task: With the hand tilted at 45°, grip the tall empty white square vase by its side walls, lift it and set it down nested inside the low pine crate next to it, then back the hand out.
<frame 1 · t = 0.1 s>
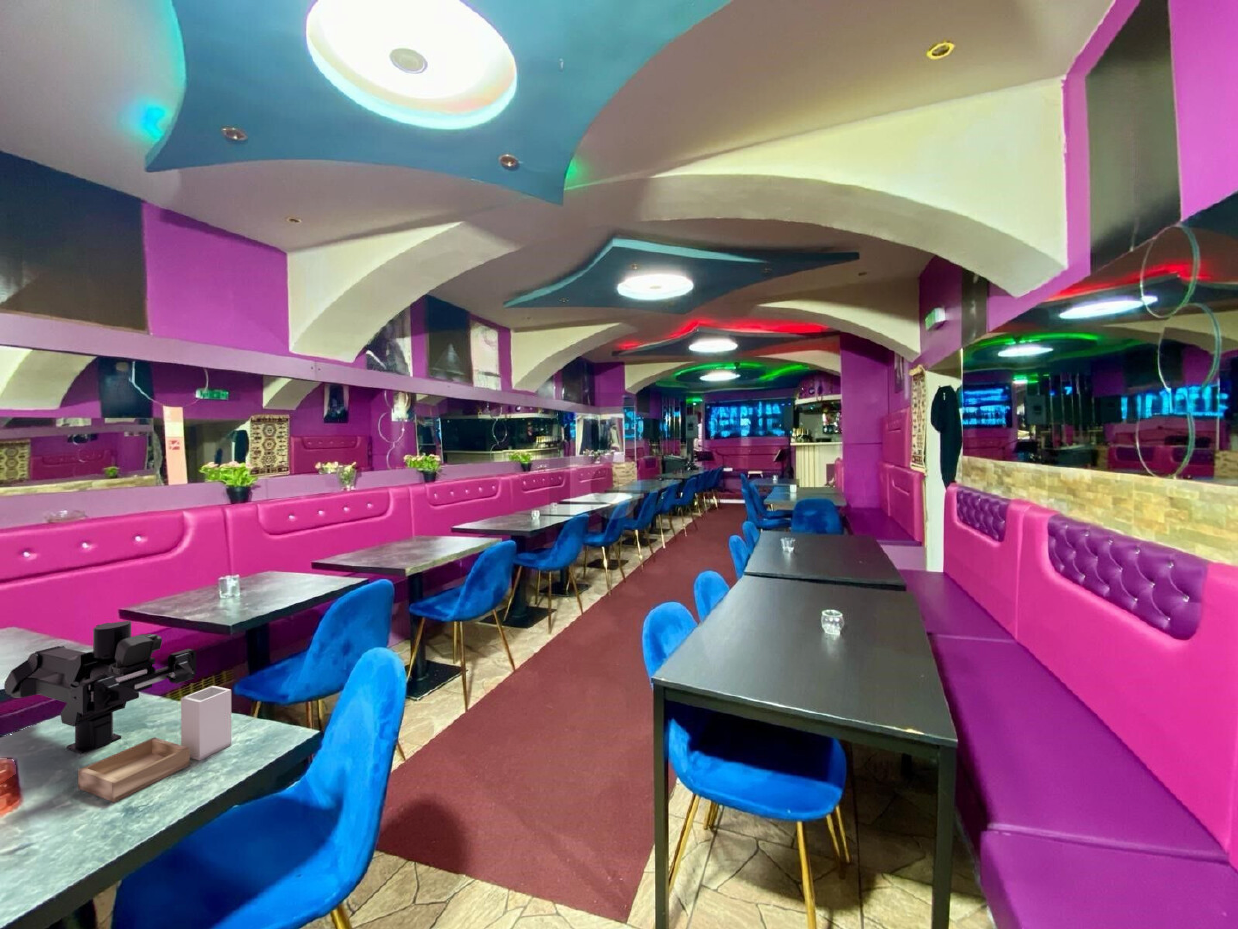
hand: (166, 685, 99), 16 cm above the table, tool horizontal, fingers open, 9 cm apart
white square vase: (206, 749, 104), on the table
pine crate: (135, 776, 95), on the table
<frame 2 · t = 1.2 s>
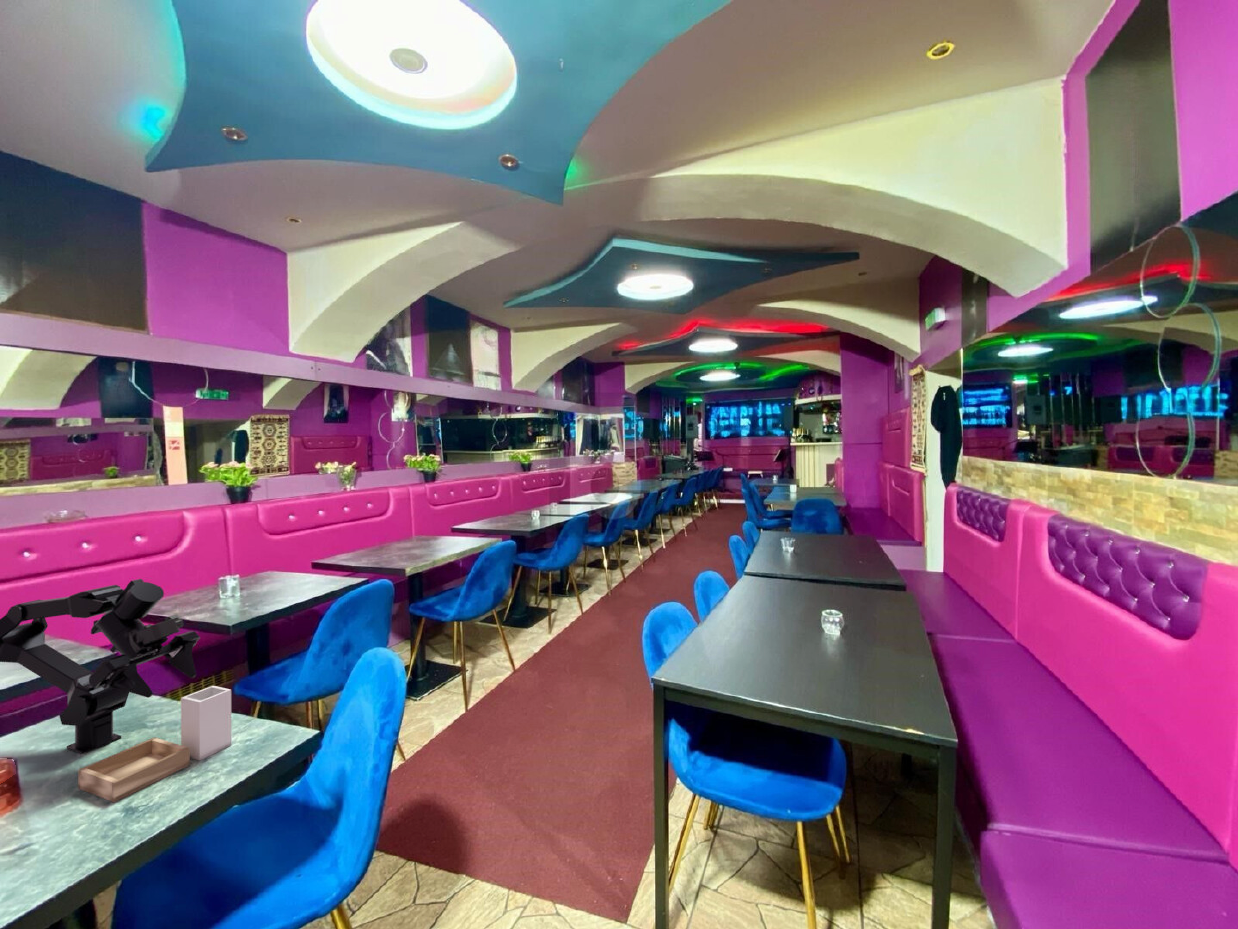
hand: (173, 685, 105), 13 cm above the table, tool tilted 45°, fingers open, 9 cm apart
nothing on the table moved.
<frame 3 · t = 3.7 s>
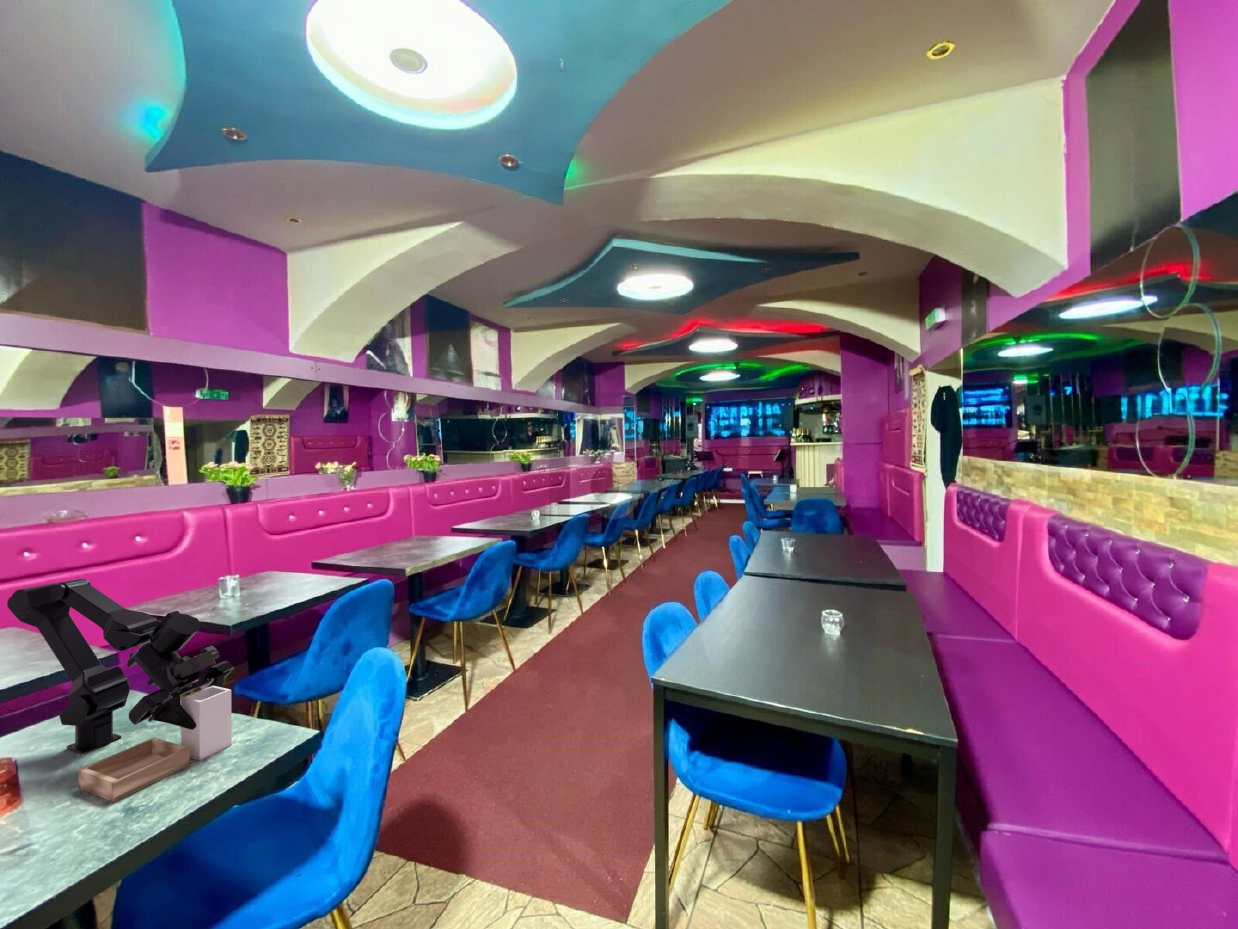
hand: (210, 719, 104), 7 cm above the table, tool tilted 45°, fingers closed on white square vase, 7 cm apart
white square vase: (206, 749, 104), on the table, touching gripper
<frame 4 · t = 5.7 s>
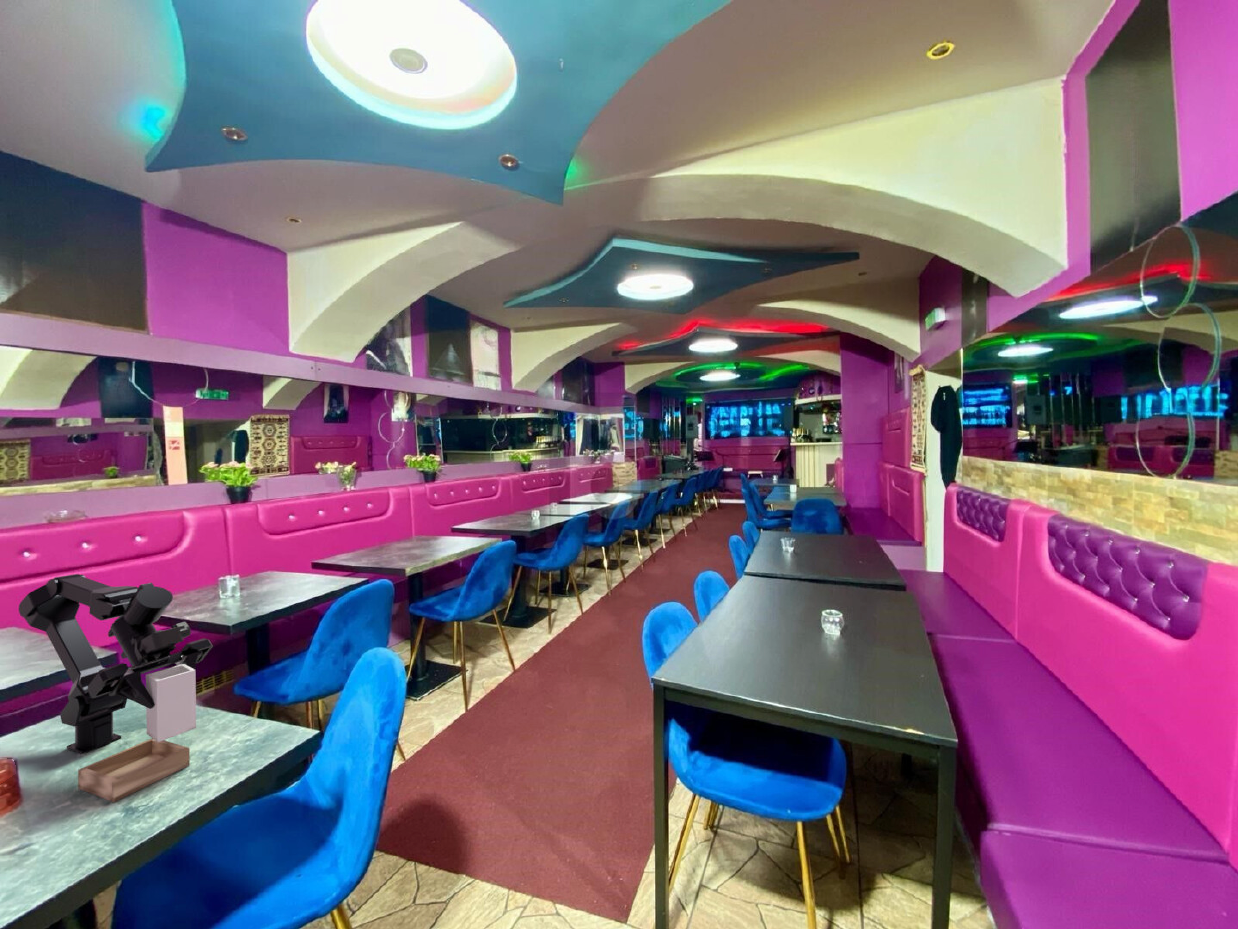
hand: (173, 699, 99), 13 cm above the table, tool tilted 45°, fingers closed on white square vase, 7 cm apart
white square vase: (171, 730, 99), point 7 cm above the table, touching gripper
when the fingers open (9 cm above the table, at t = 7.7 s): white square vase drops 2 cm, resting on pine crate.
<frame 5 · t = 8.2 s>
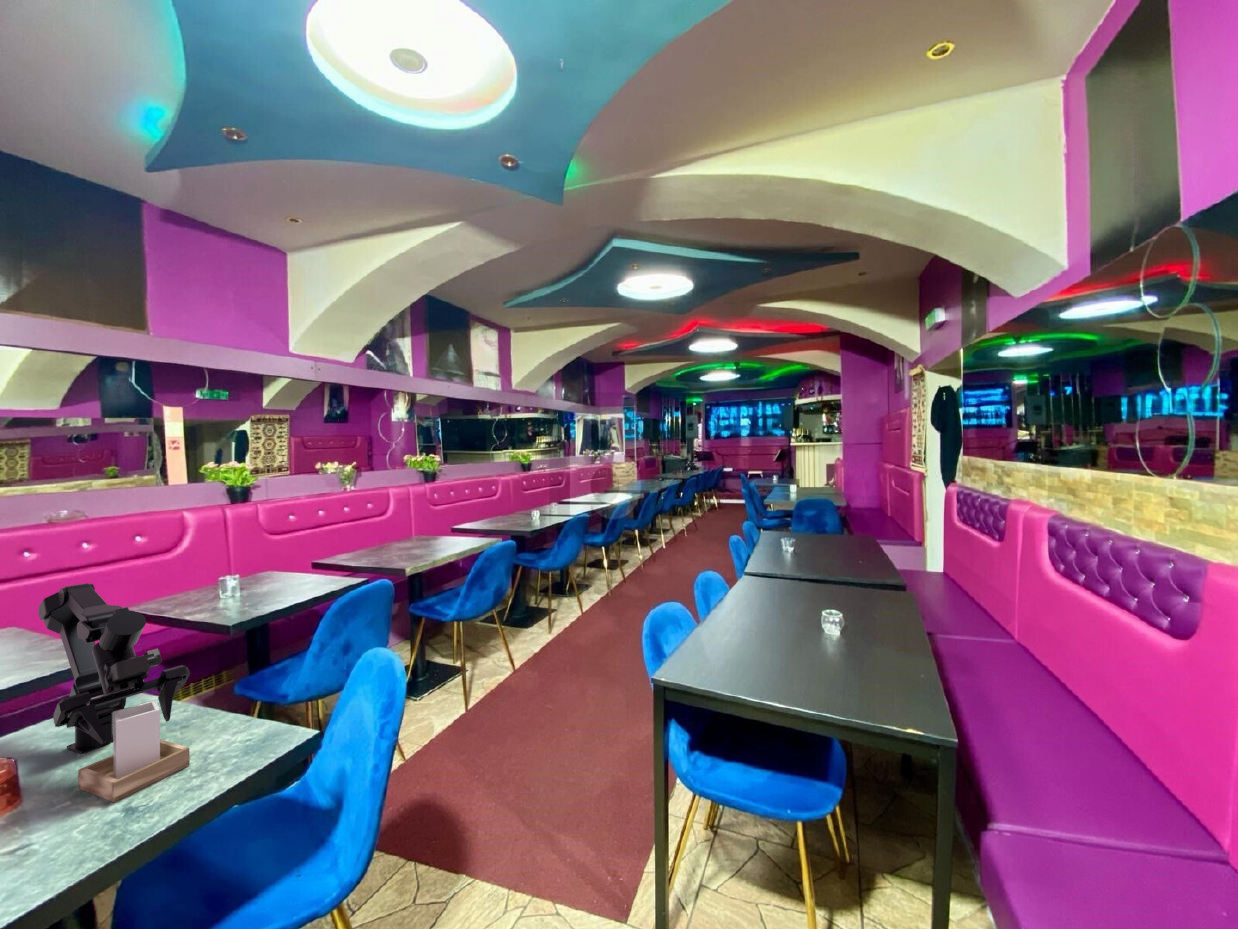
hand: (137, 731, 95), 9 cm above the table, tool tilted 45°, fingers open, 9 cm apart
white square vase: (136, 772, 96), point 1 cm above the table, touching pine crate
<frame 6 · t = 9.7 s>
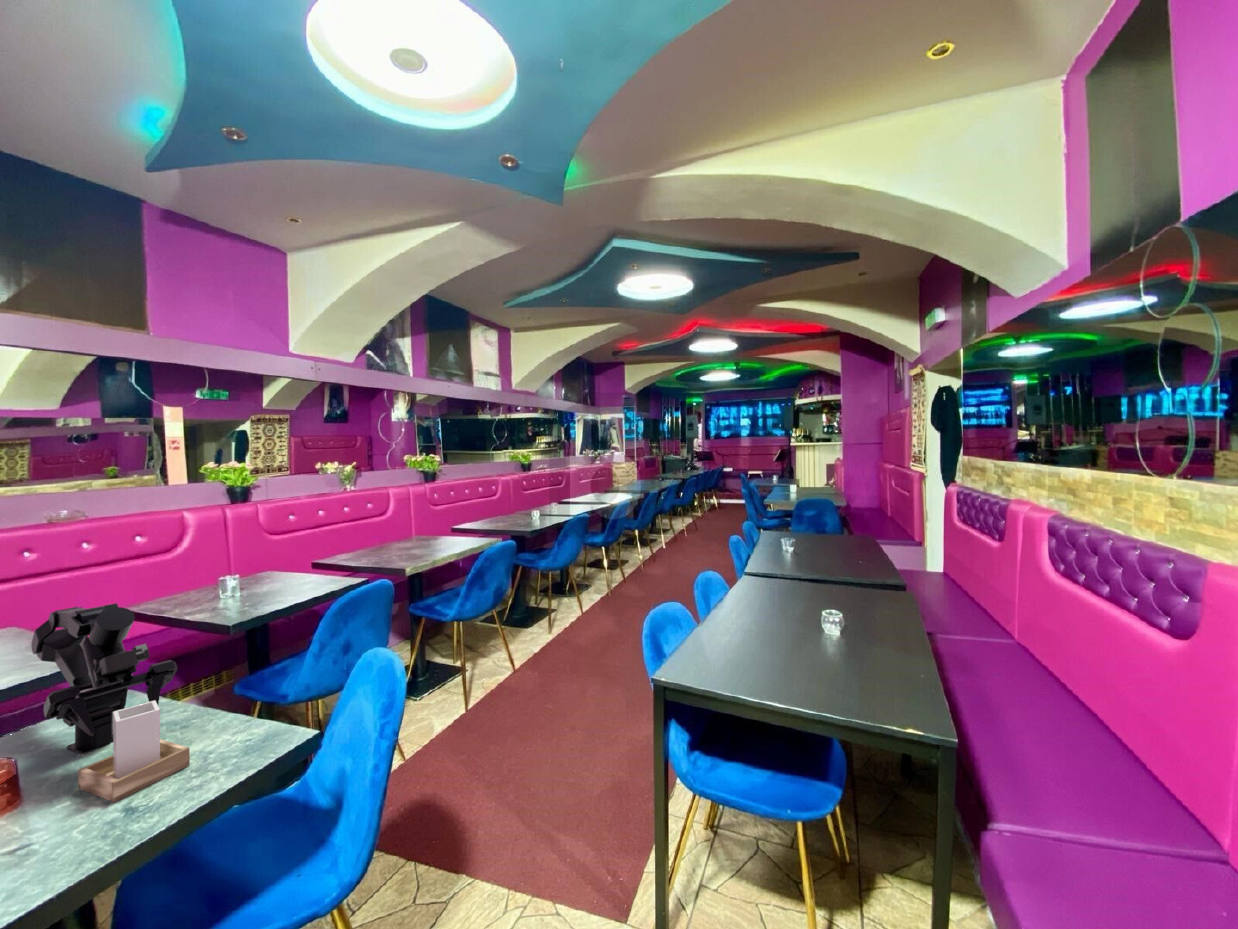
hand: (125, 723, 98), 9 cm above the table, tool tilted 45°, fingers open, 9 cm apart
nothing on the table moved.
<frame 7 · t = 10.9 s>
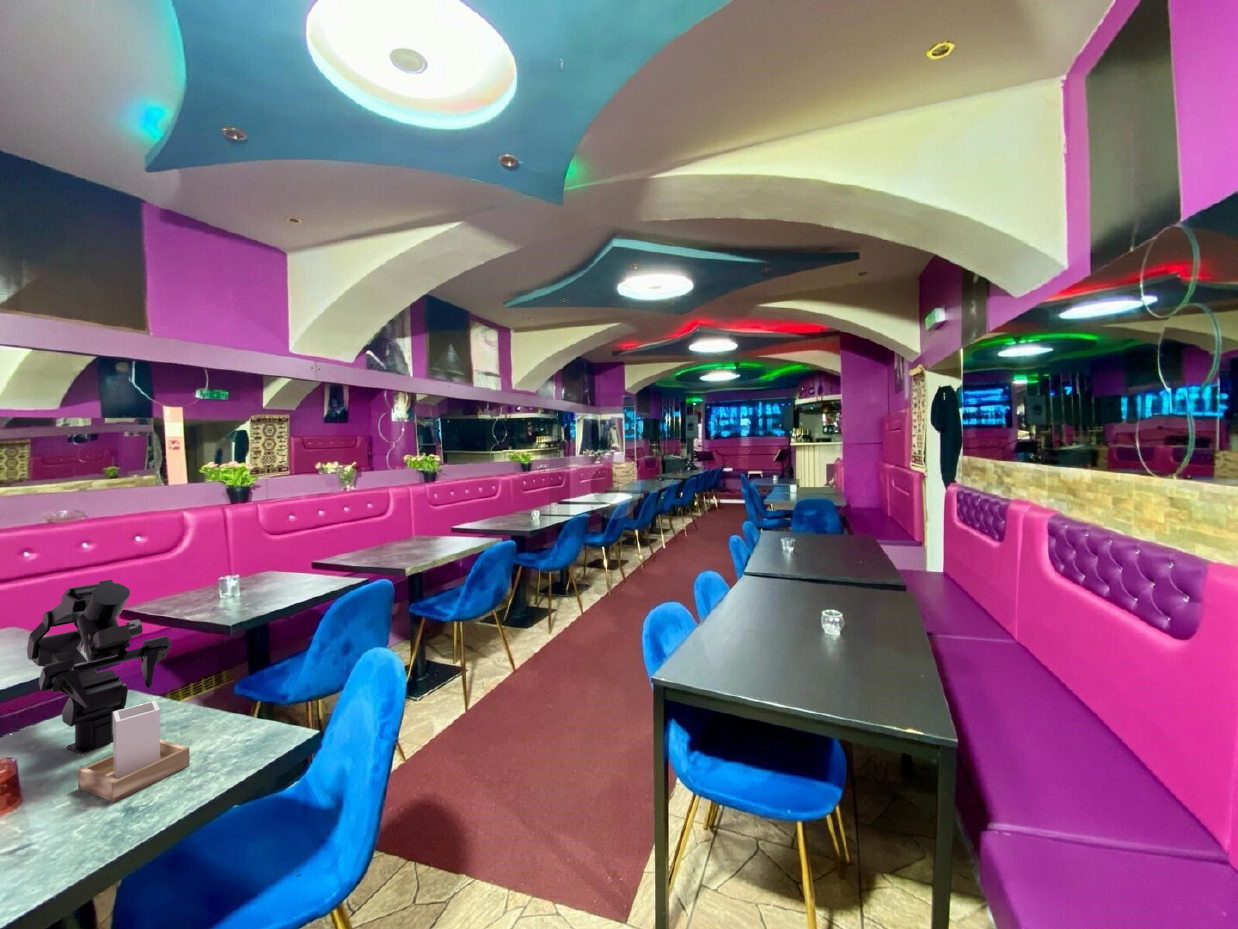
hand: (119, 696, 100), 14 cm above the table, tool tilted 45°, fingers open, 9 cm apart
nothing on the table moved.
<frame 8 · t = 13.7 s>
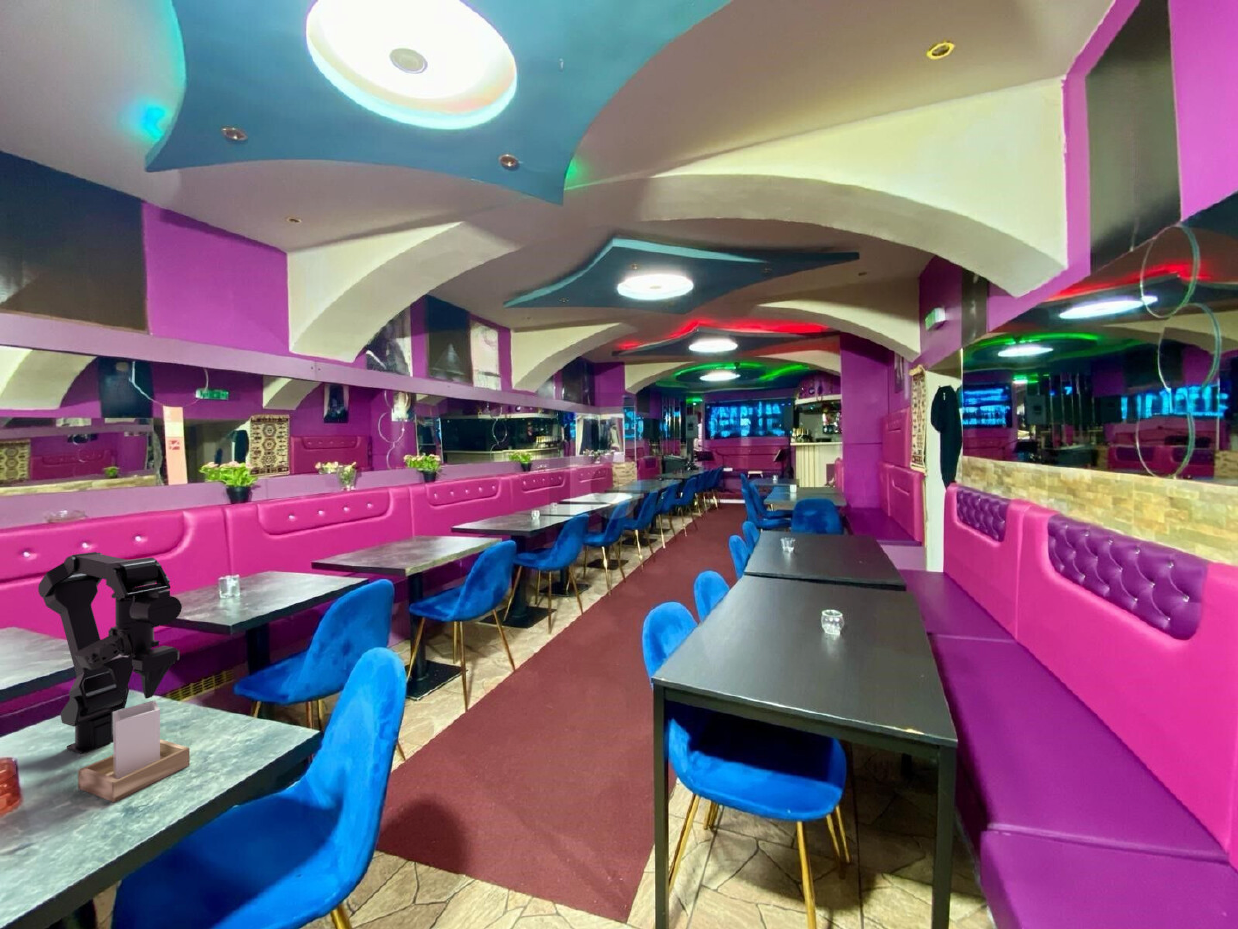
hand: (135, 694, 102), 13 cm above the table, tool pointing down, fingers open, 9 cm apart
nothing on the table moved.
at the end: white square vase 0.1 cm off-centre on the pine crate, point 0.8 cm above the pine crate's base; white square vase tilted 0°; the gripper is holding nothing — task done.
